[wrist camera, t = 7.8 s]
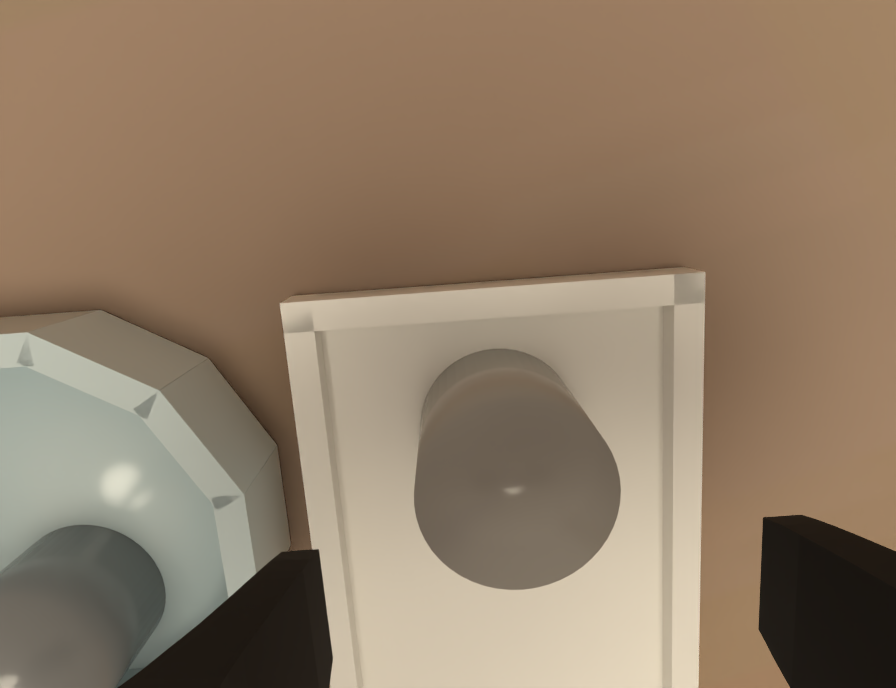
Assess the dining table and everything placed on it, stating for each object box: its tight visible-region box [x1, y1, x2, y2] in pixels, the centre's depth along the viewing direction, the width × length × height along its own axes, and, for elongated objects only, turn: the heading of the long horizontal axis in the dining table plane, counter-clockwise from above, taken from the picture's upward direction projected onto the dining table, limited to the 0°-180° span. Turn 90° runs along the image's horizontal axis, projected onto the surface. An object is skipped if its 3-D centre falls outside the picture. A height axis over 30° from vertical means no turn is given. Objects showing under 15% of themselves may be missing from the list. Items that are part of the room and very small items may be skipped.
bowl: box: [0, 310, 291, 688], centre depth 17 cm, size 12×12×3 cm
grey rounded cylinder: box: [414, 349, 621, 590], centre depth 16 cm, size 4×4×5 cm
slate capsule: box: [0, 525, 166, 688], centre depth 17 cm, size 4×4×5 cm
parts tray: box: [280, 267, 705, 688], centre depth 18 cm, size 15×11×1 cm
